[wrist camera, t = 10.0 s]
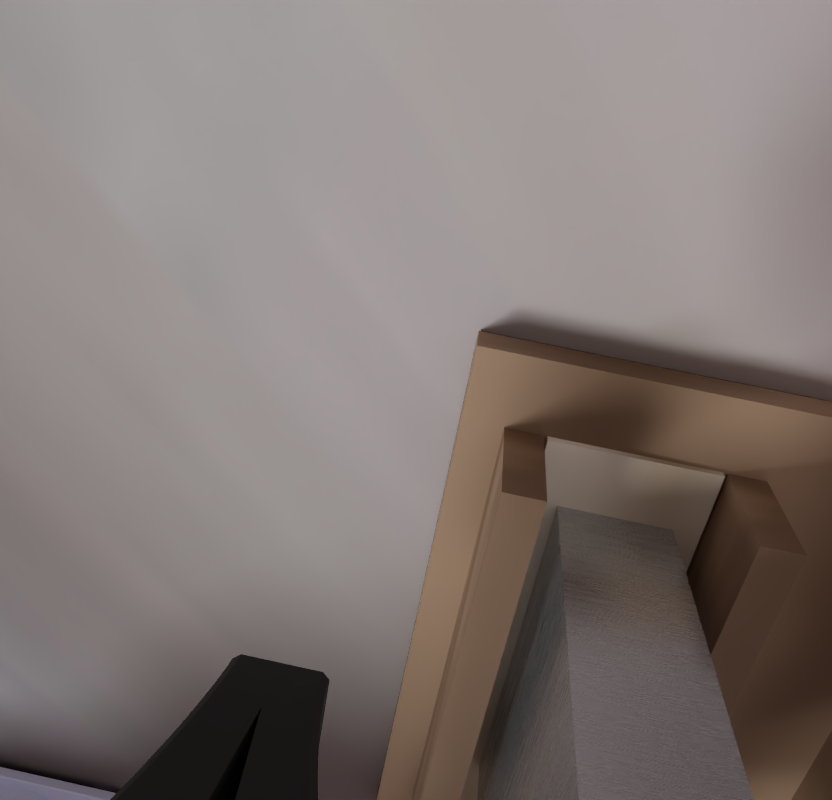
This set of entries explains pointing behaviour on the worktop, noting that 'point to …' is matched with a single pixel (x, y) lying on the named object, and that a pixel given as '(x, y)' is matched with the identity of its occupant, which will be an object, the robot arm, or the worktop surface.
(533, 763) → the grey brushed metal block
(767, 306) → the worktop surface
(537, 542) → the slot rack
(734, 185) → the worktop surface
